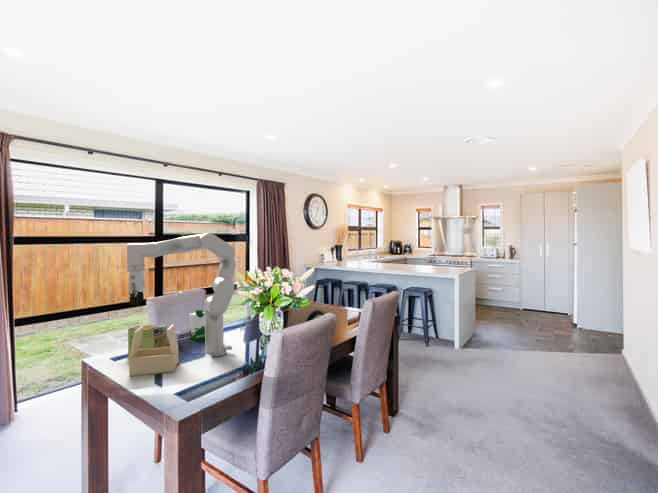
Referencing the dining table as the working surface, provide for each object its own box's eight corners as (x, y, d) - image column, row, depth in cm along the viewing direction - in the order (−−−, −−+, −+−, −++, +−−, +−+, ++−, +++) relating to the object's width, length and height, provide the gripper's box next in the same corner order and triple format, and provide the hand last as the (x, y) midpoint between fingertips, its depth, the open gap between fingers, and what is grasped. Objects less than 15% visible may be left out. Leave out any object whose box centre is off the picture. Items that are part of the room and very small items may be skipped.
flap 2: (178, 345, 170) (173, 324, 170) (174, 353, 158) (169, 329, 158) (176, 346, 170) (171, 324, 169) (171, 353, 158) (166, 330, 158)
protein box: (154, 360, 174) (153, 329, 174) (127, 359, 177) (127, 328, 177) (167, 354, 185) (167, 325, 185) (142, 352, 188) (142, 324, 188)
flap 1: (139, 349, 166) (143, 326, 166) (132, 356, 154) (136, 332, 154) (137, 349, 165) (141, 326, 166) (129, 356, 154) (134, 331, 154)
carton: (178, 362, 171) (178, 346, 171) (173, 372, 157) (173, 354, 157) (138, 366, 166) (137, 349, 166) (129, 376, 153) (129, 358, 153)
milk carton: (194, 344, 211) (194, 311, 211) (187, 342, 217) (187, 310, 217) (207, 341, 218) (207, 309, 218) (201, 339, 224) (200, 308, 224)
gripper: (138, 269, 163) (139, 305, 163) (149, 267, 180) (150, 300, 180) (121, 270, 161) (122, 306, 161) (133, 267, 178) (134, 301, 178)
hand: (137, 303), depth 170 cm, fingers open, 9 cm apart
